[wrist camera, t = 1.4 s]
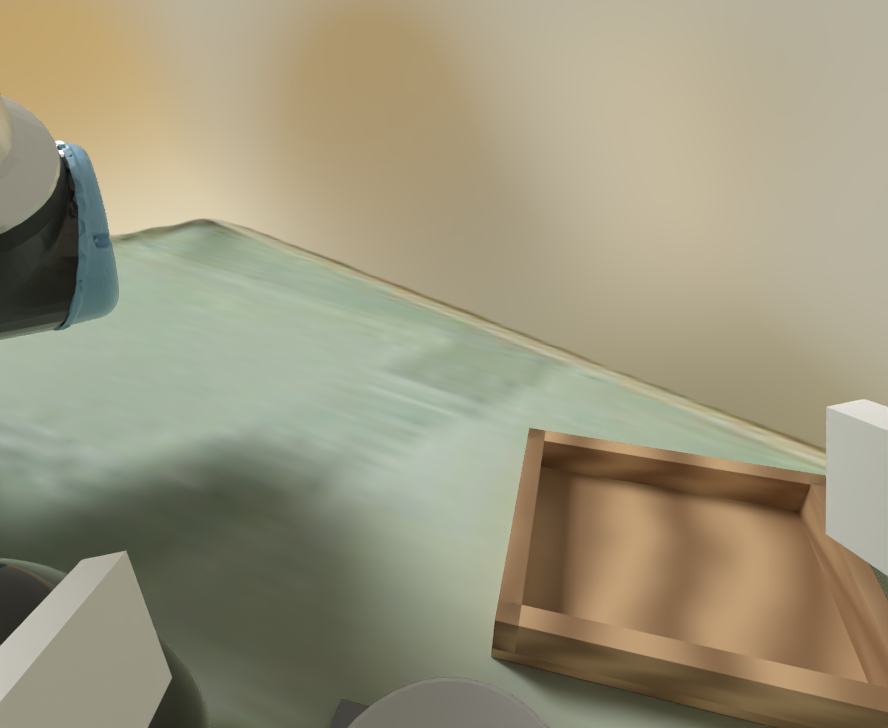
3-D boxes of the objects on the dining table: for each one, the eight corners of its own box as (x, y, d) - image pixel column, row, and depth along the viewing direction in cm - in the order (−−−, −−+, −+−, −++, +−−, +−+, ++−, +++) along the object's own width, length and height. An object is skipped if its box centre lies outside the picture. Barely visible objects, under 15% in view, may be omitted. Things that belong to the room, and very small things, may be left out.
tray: (491, 656, 29) (494, 620, 27) (525, 461, 42) (529, 428, 40) (916, 762, 25) (952, 727, 23) (806, 509, 38) (824, 475, 36)
